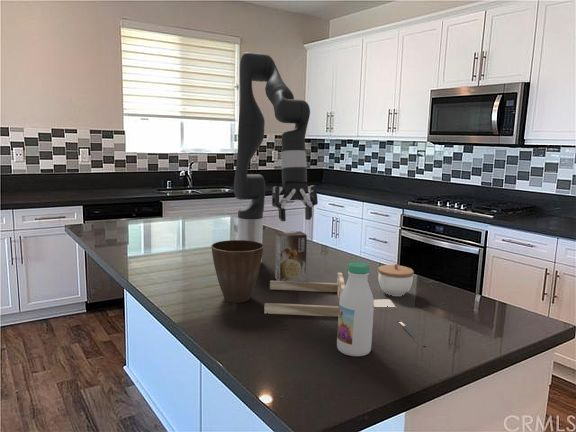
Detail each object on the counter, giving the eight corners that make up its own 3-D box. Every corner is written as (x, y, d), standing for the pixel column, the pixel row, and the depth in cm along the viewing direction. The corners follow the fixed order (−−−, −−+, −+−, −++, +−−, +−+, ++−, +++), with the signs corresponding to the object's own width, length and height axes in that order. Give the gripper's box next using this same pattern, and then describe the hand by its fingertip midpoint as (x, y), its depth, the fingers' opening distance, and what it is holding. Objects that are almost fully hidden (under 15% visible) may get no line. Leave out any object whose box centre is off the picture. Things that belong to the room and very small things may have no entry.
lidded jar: (370, 289, 147) (372, 260, 146) (399, 286, 151) (401, 258, 150) (389, 300, 137) (391, 270, 136) (419, 297, 141) (421, 267, 140)
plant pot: (202, 304, 129) (202, 248, 127) (222, 288, 144) (222, 238, 141) (253, 310, 126) (254, 253, 123) (268, 293, 140) (269, 242, 138)
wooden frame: (270, 288, 145) (270, 269, 144) (340, 291, 144) (341, 272, 143) (264, 313, 124) (264, 292, 123) (346, 317, 123) (348, 295, 122)
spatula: (389, 303, 136) (390, 299, 136) (436, 348, 107) (436, 342, 107) (369, 304, 135) (370, 299, 135) (411, 349, 106) (412, 343, 106)
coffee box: (300, 276, 158) (302, 230, 156) (306, 282, 152) (307, 234, 150) (274, 277, 156) (275, 231, 153) (279, 283, 150) (280, 235, 147)
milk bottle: (367, 342, 108) (372, 259, 105) (374, 357, 101) (380, 269, 97) (334, 341, 108) (338, 259, 105) (339, 357, 100) (344, 268, 97)
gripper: (308, 167, 145) (310, 218, 146) (267, 167, 139) (269, 221, 139) (320, 165, 138) (322, 219, 139) (277, 165, 132) (279, 222, 133)
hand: (295, 220), depth 139 cm, fingers open, 8 cm apart
